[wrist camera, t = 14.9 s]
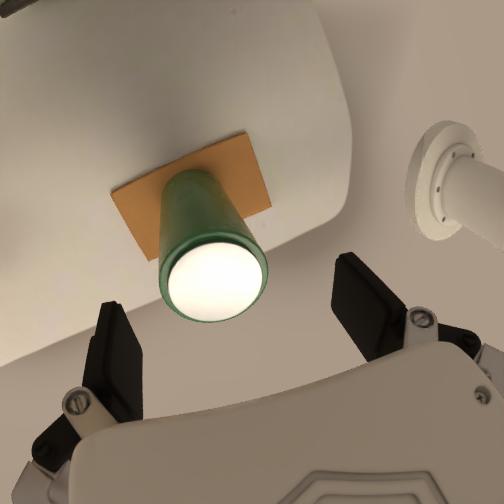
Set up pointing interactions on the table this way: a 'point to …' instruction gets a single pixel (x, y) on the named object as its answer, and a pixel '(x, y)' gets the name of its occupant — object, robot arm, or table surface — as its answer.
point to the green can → (206, 251)
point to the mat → (207, 159)
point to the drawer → (13, 6)
